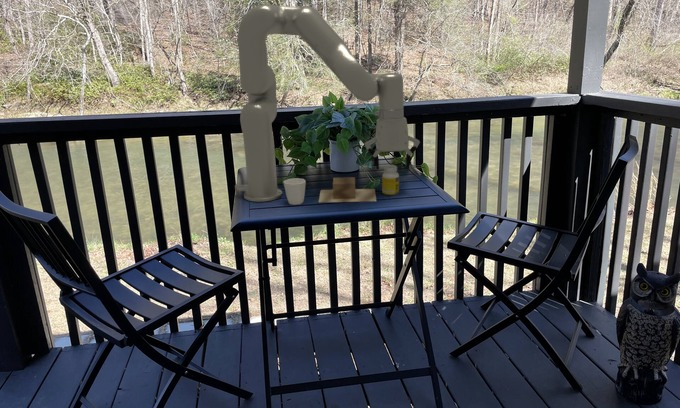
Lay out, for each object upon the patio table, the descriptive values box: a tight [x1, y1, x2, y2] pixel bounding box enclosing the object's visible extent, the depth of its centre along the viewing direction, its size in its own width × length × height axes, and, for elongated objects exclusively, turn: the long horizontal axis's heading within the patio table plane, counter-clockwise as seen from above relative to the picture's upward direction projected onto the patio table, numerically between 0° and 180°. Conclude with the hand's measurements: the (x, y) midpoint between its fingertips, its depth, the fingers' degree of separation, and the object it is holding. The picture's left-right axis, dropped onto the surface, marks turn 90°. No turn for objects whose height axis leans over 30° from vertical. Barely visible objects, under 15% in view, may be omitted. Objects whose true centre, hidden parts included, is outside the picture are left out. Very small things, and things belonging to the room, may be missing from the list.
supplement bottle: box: [381, 164, 400, 196], centre depth 170 cm, size 5×5×10 cm
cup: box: [283, 177, 307, 206], centre depth 164 cm, size 7×10×8 cm
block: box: [332, 176, 356, 199], centre depth 169 cm, size 7×7×5 cm
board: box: [318, 188, 377, 203], centre depth 170 cm, size 18×13×1 cm
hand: (392, 167), depth 168 cm, fingers open, 9 cm apart
